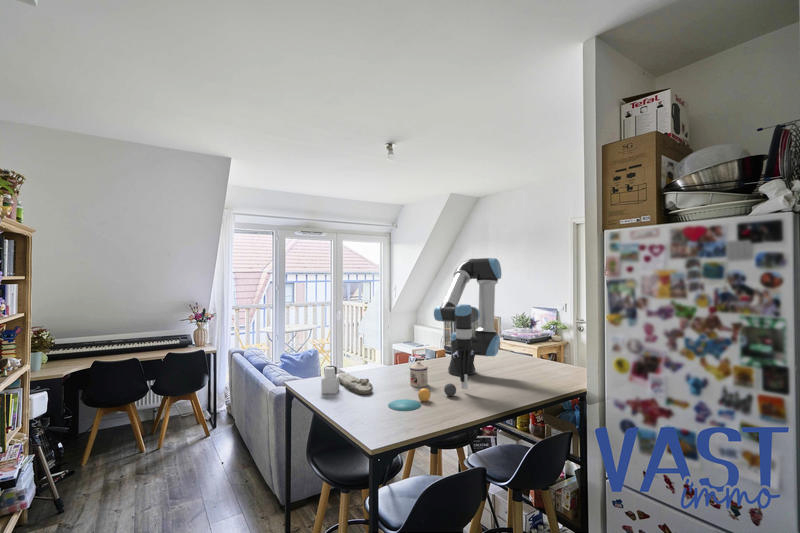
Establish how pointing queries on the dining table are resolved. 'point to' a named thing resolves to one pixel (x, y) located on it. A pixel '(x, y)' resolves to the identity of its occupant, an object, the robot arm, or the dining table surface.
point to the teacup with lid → (418, 375)
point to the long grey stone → (356, 384)
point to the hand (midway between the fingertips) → (464, 388)
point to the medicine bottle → (330, 380)
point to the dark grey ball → (450, 389)
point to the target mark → (404, 405)
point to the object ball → (424, 394)
